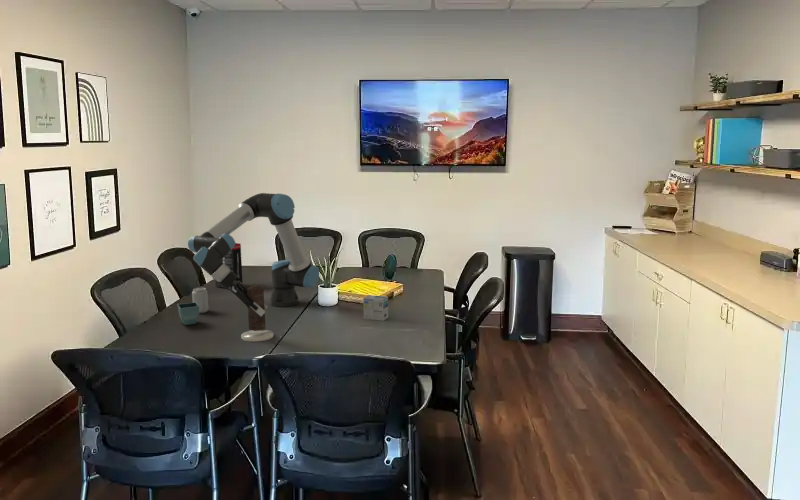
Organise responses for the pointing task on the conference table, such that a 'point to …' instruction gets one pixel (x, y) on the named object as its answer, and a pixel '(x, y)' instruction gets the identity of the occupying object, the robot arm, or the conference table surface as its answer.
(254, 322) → the candle
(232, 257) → the graphics card box
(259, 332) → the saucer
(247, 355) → the conference table surface
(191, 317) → the flower pot
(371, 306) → the light bulb box
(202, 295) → the can
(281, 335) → the conference table surface
